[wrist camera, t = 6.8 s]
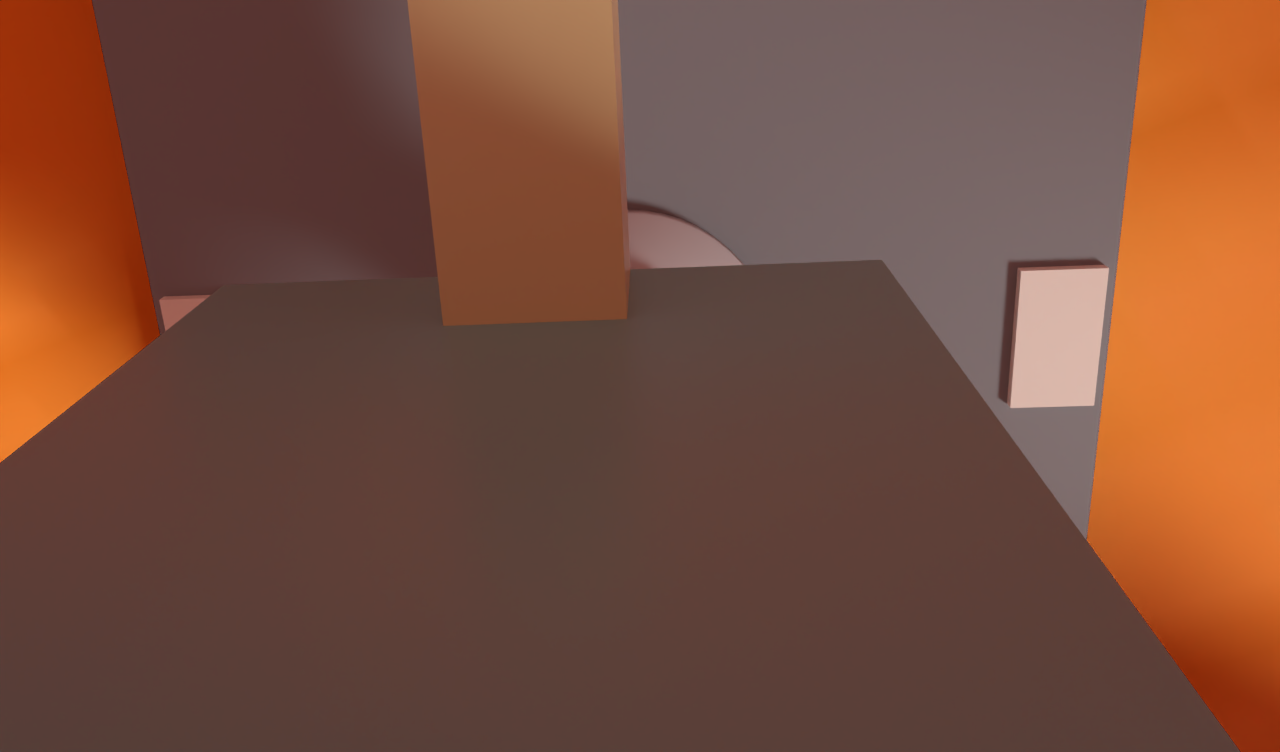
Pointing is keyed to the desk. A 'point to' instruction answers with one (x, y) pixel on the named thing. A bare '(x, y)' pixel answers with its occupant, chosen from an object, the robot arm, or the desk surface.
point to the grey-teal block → (557, 493)
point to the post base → (687, 163)
